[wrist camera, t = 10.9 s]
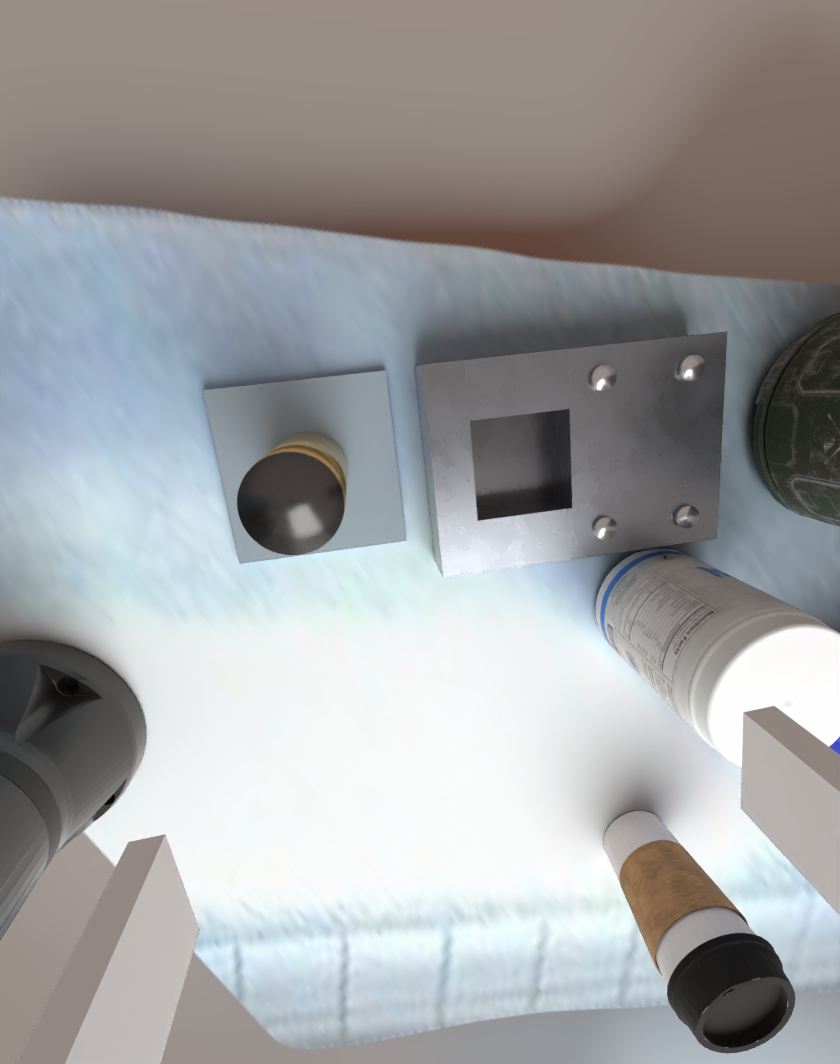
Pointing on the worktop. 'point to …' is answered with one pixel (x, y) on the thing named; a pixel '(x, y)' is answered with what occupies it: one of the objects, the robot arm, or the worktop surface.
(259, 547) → the mat
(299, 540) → the cylinder
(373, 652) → the worktop surface
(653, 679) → the supplement tub
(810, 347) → the canister
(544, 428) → the housing
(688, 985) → the coffee cup
